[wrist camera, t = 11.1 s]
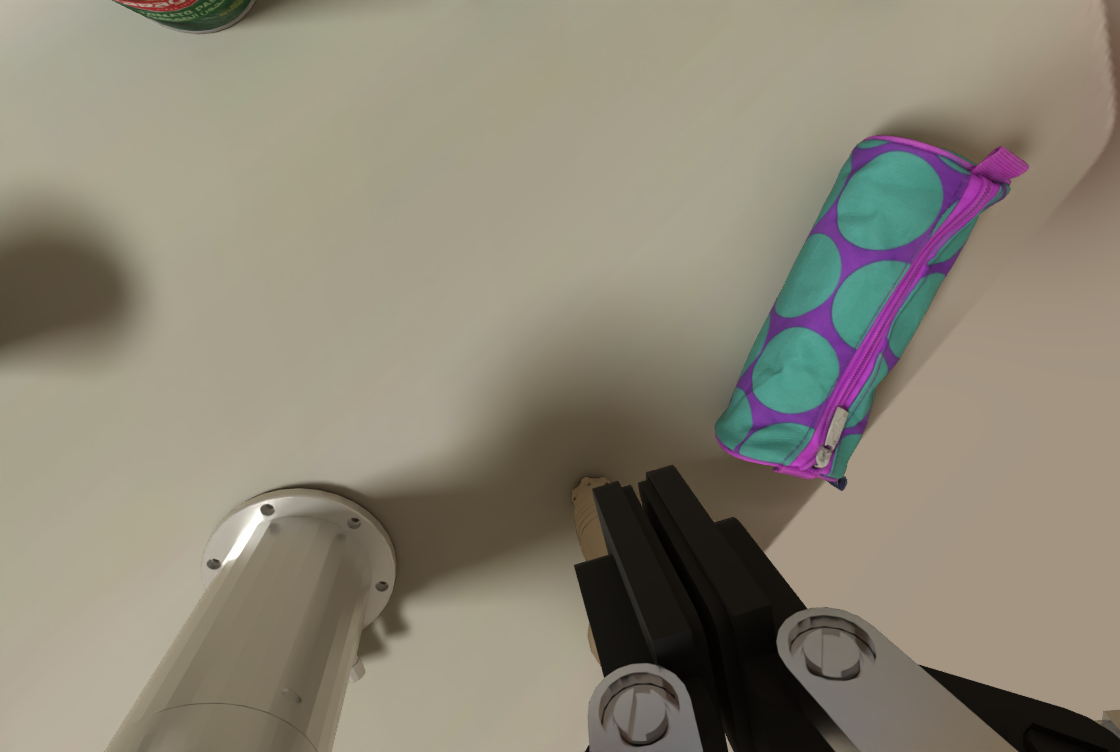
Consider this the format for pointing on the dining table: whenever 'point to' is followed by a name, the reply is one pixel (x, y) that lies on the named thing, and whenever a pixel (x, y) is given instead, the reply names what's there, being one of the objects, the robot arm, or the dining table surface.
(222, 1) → the canned tomato
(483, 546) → the dining table surface
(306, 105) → the dining table surface
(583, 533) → the handle
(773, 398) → the pencil case
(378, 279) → the dining table surface
